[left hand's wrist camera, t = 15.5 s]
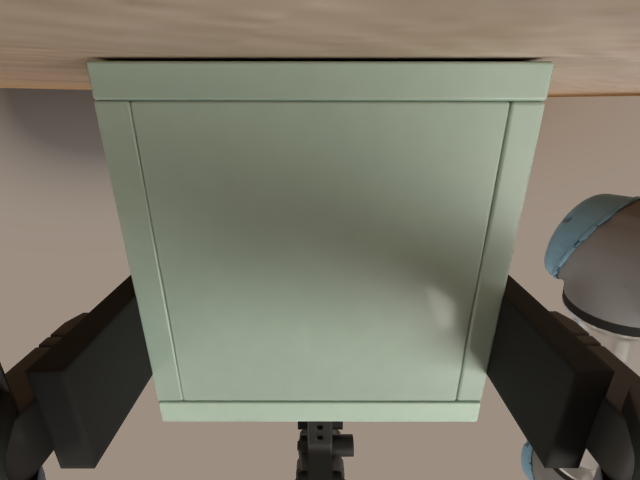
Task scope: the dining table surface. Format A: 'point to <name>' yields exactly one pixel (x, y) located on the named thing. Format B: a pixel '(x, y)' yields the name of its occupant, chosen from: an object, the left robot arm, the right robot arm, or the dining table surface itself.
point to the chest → (319, 220)
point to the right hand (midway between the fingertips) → (320, 309)
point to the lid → (318, 410)
